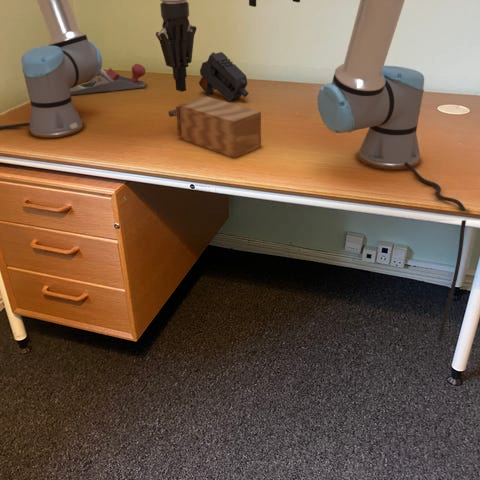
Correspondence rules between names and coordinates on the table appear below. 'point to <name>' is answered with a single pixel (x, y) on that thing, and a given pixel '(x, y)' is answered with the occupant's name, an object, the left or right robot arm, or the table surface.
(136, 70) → the hand plane
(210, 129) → the wooden grain block
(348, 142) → the table surface
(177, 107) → the drawer
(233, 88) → the tool
